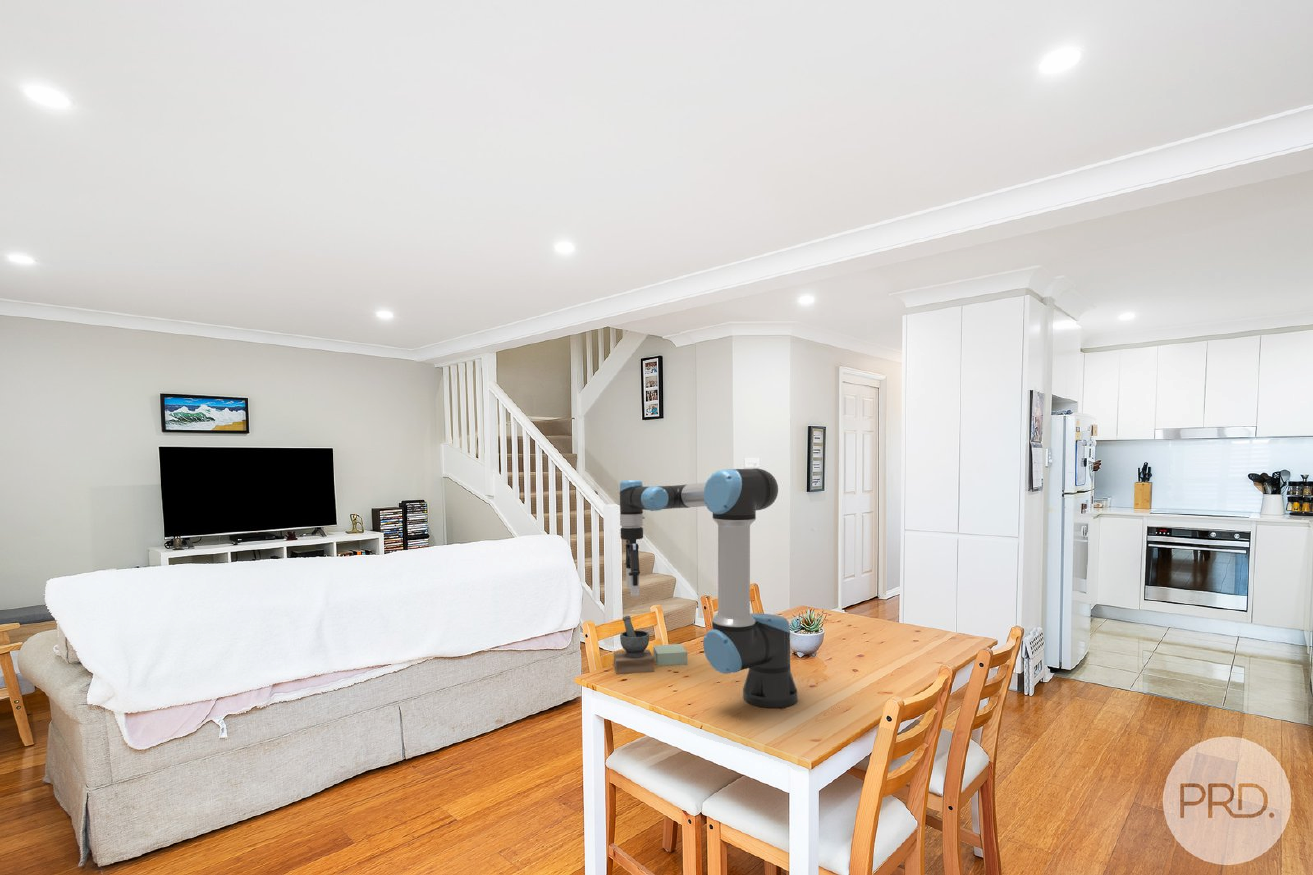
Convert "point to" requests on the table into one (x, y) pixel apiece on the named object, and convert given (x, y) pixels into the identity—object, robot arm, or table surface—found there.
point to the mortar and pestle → (633, 640)
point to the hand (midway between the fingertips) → (632, 591)
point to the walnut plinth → (633, 663)
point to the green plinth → (670, 654)
